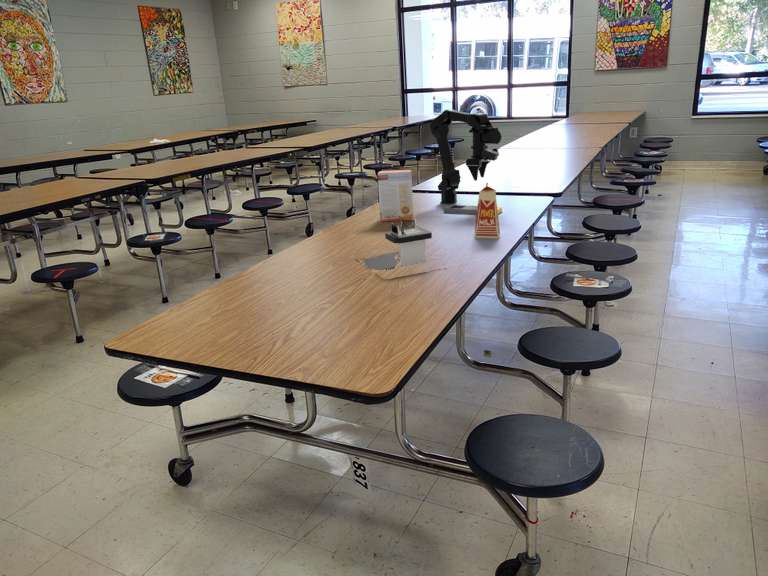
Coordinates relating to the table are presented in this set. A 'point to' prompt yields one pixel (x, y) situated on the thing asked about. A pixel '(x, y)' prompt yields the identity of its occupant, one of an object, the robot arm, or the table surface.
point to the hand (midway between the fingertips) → (479, 178)
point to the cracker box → (395, 195)
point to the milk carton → (487, 215)
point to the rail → (464, 209)
